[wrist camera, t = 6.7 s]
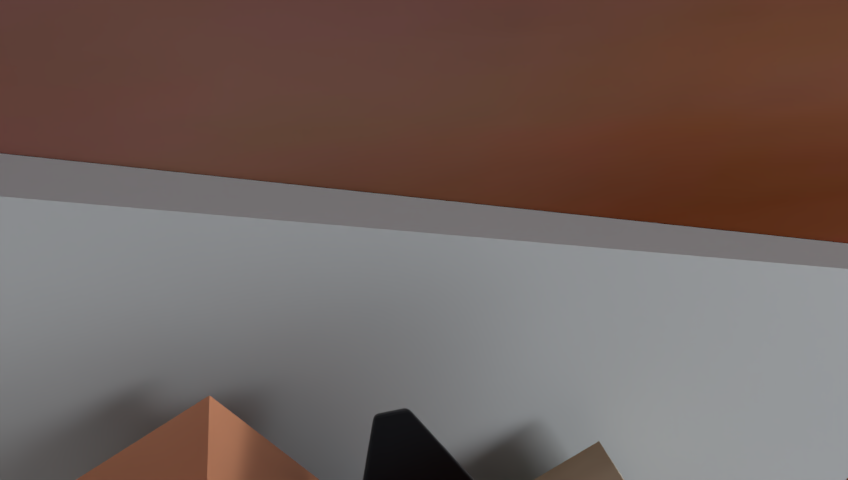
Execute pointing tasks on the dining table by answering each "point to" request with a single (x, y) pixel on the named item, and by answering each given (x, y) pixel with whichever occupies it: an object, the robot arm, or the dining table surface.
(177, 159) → the dining table surface
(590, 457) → the flange plate
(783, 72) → the dining table surface
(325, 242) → the board
